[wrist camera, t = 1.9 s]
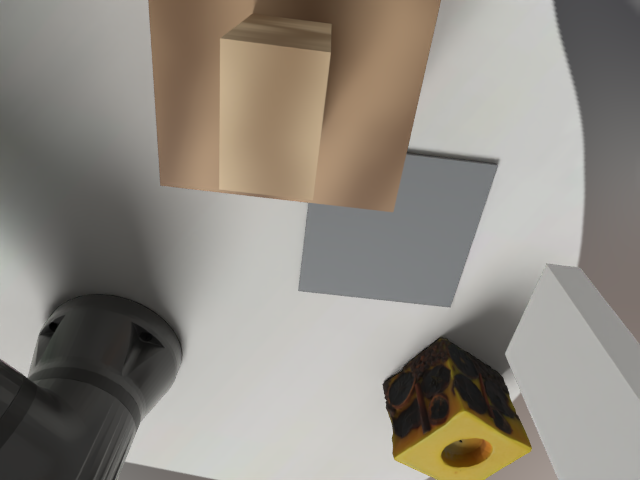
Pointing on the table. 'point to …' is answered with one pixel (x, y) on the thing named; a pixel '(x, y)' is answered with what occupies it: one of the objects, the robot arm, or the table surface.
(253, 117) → the wooden side table
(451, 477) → the candle
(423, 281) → the mat
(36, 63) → the table surface
